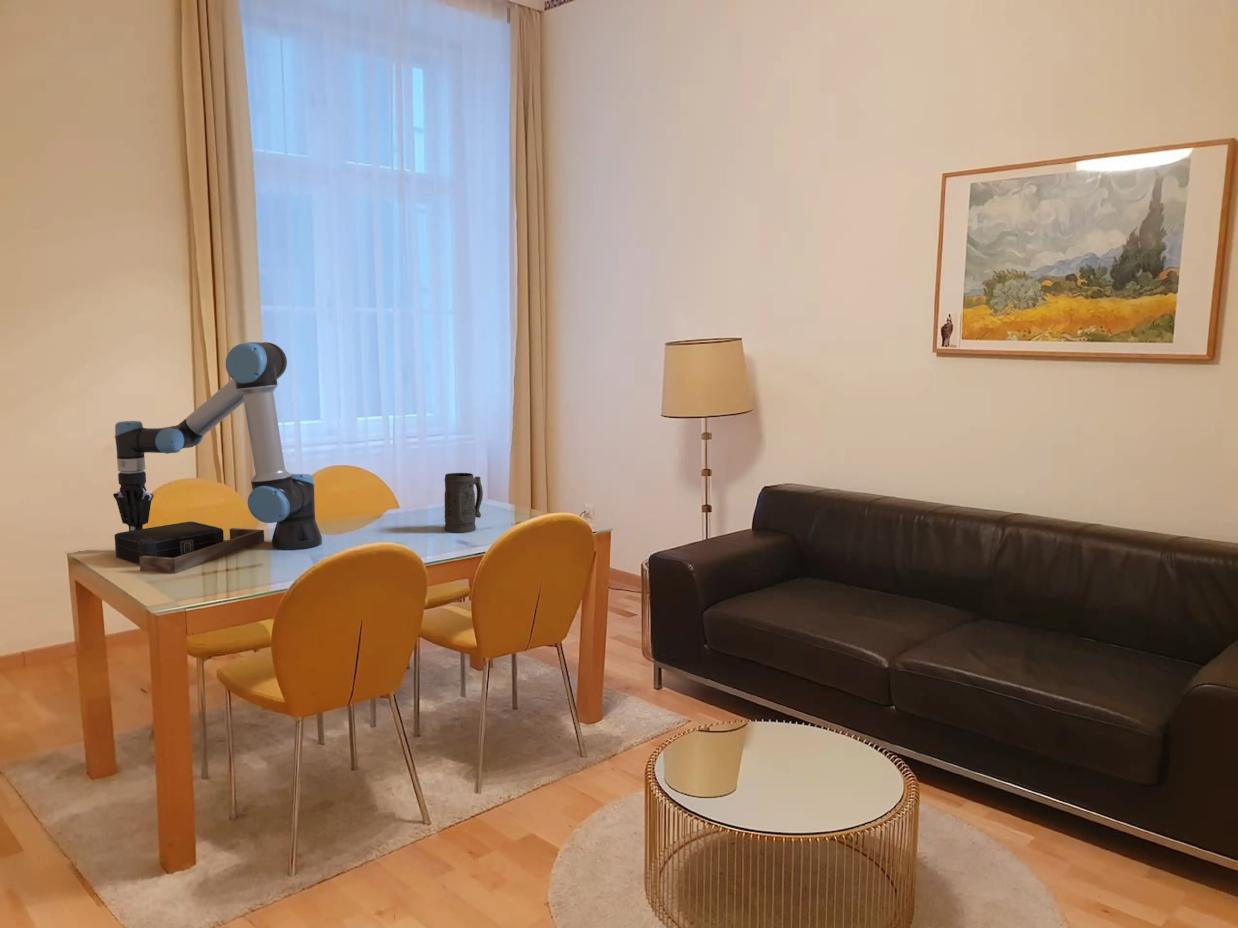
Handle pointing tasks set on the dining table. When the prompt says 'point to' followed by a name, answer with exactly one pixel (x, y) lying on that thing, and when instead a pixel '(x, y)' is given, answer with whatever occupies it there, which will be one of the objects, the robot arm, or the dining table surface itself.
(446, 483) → the beer stein
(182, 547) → the cash box
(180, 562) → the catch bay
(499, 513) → the dining table surface
